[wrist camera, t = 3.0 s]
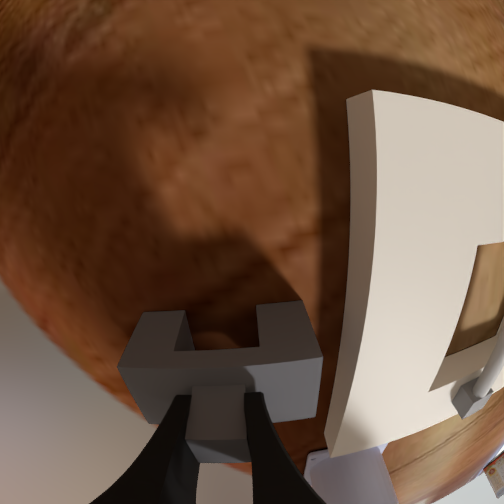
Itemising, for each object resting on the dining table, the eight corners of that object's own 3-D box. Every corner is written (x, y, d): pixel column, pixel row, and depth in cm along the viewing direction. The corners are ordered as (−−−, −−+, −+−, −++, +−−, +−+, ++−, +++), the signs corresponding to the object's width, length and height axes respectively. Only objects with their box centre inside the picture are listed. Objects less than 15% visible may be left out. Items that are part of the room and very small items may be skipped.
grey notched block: (300, 360, 14) (326, 461, 8) (163, 368, 14) (138, 465, 8) (302, 300, 13) (341, 410, 7) (143, 312, 13) (96, 414, 7)
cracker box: (483, 469, 55) (496, 498, 36) (483, 468, 53) (497, 499, 34) (506, 450, 52) (522, 478, 32) (507, 448, 50) (523, 478, 31)
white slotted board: (504, 364, 18) (525, 389, 14) (323, 433, 18) (335, 479, 14) (558, 153, 10) (594, 164, 6) (346, 99, 10) (403, 79, 5)
